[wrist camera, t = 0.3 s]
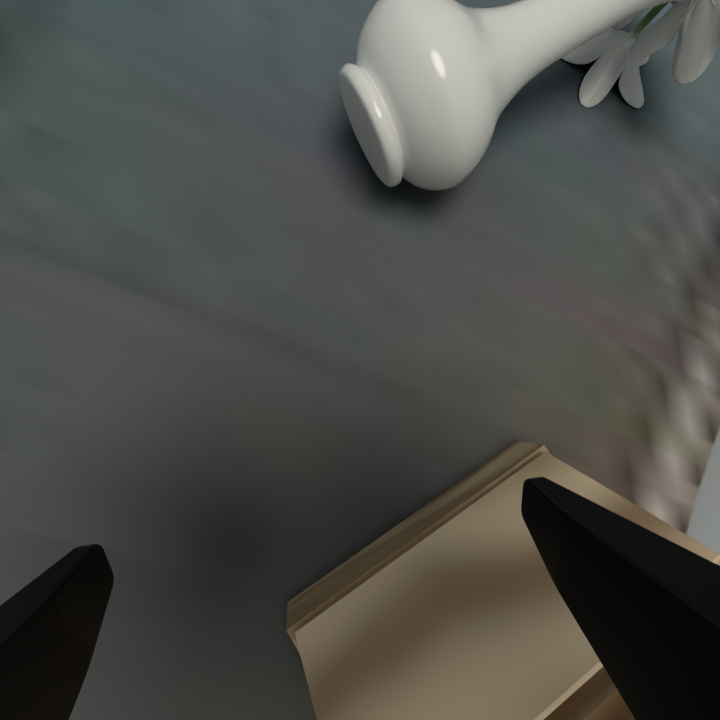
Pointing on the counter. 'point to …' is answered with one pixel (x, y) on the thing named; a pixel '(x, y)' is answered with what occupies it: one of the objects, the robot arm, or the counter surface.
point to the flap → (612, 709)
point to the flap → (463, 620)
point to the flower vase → (496, 71)
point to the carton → (416, 529)
